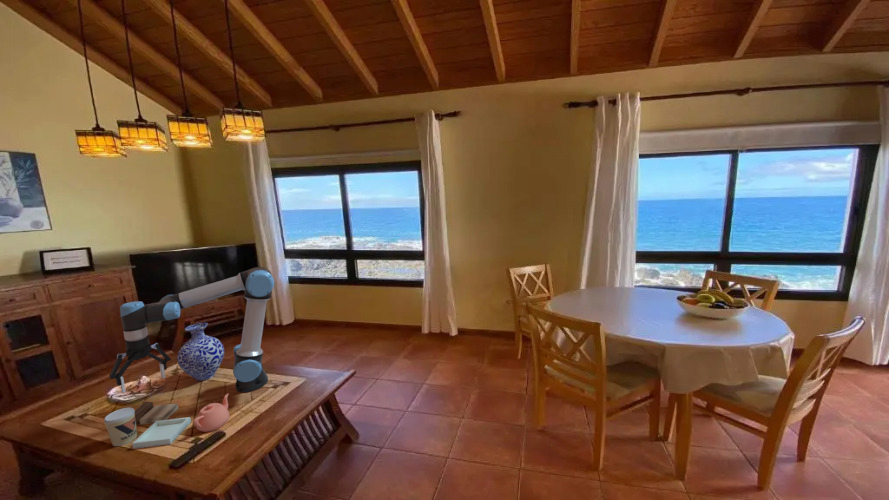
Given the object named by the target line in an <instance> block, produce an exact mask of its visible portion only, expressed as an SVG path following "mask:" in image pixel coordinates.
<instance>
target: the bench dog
mask: <svg viewBox="0 0 889 500" xmlns="http://www.w3.org/2000/svg"><path fill="white" fill-rule="evenodd" d="M153 407H154V404H153V401H145V402H143V403H142V404H141V405H139V407H137V408H136V409H134V410H135V412H134V413H135V420H136V426H137V425H140V421H139V419H140V418H142V417H143V416H144V415H145V414H146V413H147V412H148V411H150V410H151V409H152V408H153Z"/></svg>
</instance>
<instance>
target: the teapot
mask: <svg viewBox="0 0 889 500" xmlns="http://www.w3.org/2000/svg"><path fill="white" fill-rule="evenodd" d="M229 394H230V393H226V394H225V395H224V397H223V400H222V403H218V402H213V403H212V402H211V403H208V404H207V405H205V406H204V407H202V408H201V409H200V410H199V412H198V414H197V416H196V417H195V418H194V419H193V421H192V422H193V425H195V427H196V429H197V430H198V431H200V432H204V433H208V432H213V431H216V430H218V429H220V428H222V427H223V426H224V425H225V424H226V423H227V422H228V421H229V420H230V413H229V410H228V409H229V402H228V396H229Z"/></svg>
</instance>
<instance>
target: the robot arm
mask: <svg viewBox="0 0 889 500" xmlns="http://www.w3.org/2000/svg"><path fill="white" fill-rule="evenodd" d="M274 287H275V279H274V277H273V274H272V272H271V271H270V270H269V269H268V268H266V267H263V266H257V267H253V268H250V269H248V270H247V269H246V270H245V271H242V272H239V273H238V274H237V275H235V276H231V277H229V278H225V279H223V280H219V281H216V282H212V283H208V284H206V285H202V286H199V287H195V288H192V289H188V290H185V291H182V292H178V293H175V294H167V295H165V296H163V297H162V298H161V299H160V300H159V302H157V303H156V304H149V305H146V304H145V303H144V302H143V301H139V300H138V301H137V300H136V301H130V302H127V303H123V304H122V305H120V307H119V311H120V312H119V313H120V315H119V316H120V319H121V320H120V321H121V324H122V329H123V337H124V340H125V343H124V344H125V349H126V351H125V352H123V353H117V354H116V360H115V363H114V364H113V366H112V369H111V371H110V374H109V376H108V377H109V378H110V379H111V380H114V379H115V381H116V385H117V386H119V387H120V390H121V392H122V393H123V394H124V393H126V392H127V391H126V385H125V381H124V377H123V375H124V374H125V372H126V371H127V370H128V368H129V367H130V366H131V364H132V363H133V362H134V361H139V360H141V359H145V358H146V357H149V358H151V359H154V360H155V361H158V362H159V370H160V371H159V373H160V376H161V377H160V378H161V379H166V373H165V371H166V370H167V369H168V367H167V363H168V362H170V361H171V360H172V359H171V357H170V356H169V355H168V354H167V353H166V352H165V351H164V350H163V349H162V348H161V346H160V344H159V343H158V342H155V343H154V344H151V345H150V337H149V333H148V325H147V324H150V323H157V322H164V321H171V320H176V319H179V318H180V317H181V310H183V309H185V308H189V307H192V306H196V305H198V304H201V303H204V302H207V301H211V300H215V299H218V298H220V297H223V296H226V295H230V294H233V293H236V292H239V291H244V295H243V298H244V299H246V305H245V314H244V318H243V319H244V321H243V326H242V333H241V341H240V344H236V345H235V346H234V347H233V354H234V364H233V369H232V372H233V376H234V379H236V380H235V391H236V392H238V393H249V392H254V391H256V390H258V389H261V388H262V387H264V386H265V385H267V383H268V382H269V378H268V377H269V376H268V374H267V373H266V371H265V369H264V368H263V362H262V361H263V355H264V350H263V349H262V348H261V344H262V338H263V332H264V325H265V324H264V323H265V317H266V316H265V315H266V310H267V305H268V304H267V303H268V301H270V300H271V298H272V293H273V289H274ZM152 349H154V350H156V352H158V353H159V354H160V355H161V356H162V357H163V358H161V357H160V356H157V355H155V354H154V353H152V352H151V351H152ZM125 357H127V358H126V359H125V360H126V361H125V362H124V363H123V364H122V361H123V359H124V358H125ZM121 364H122V366H121ZM120 366H121V367H120Z"/></svg>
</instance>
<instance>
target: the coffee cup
mask: <svg viewBox="0 0 889 500" xmlns="http://www.w3.org/2000/svg"><path fill="white" fill-rule="evenodd" d="M135 410H136V409H134V408H133V407H123V408H120V409H117V410H115V411H113V412H111V413H108V414H107V415H106V416H105V417H104V419H103V423H104V424H105V427H106V430H107V433H108V436H109V438H110V441H111V444H112V446H113V447H120V446H123V445H126V444H129V443H131V442H132V441H133V440H134V441H135V440H136V439H137V438H138V432H137V431H138V430H137V425H136V420H135V413H134V412H135Z"/></svg>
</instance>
